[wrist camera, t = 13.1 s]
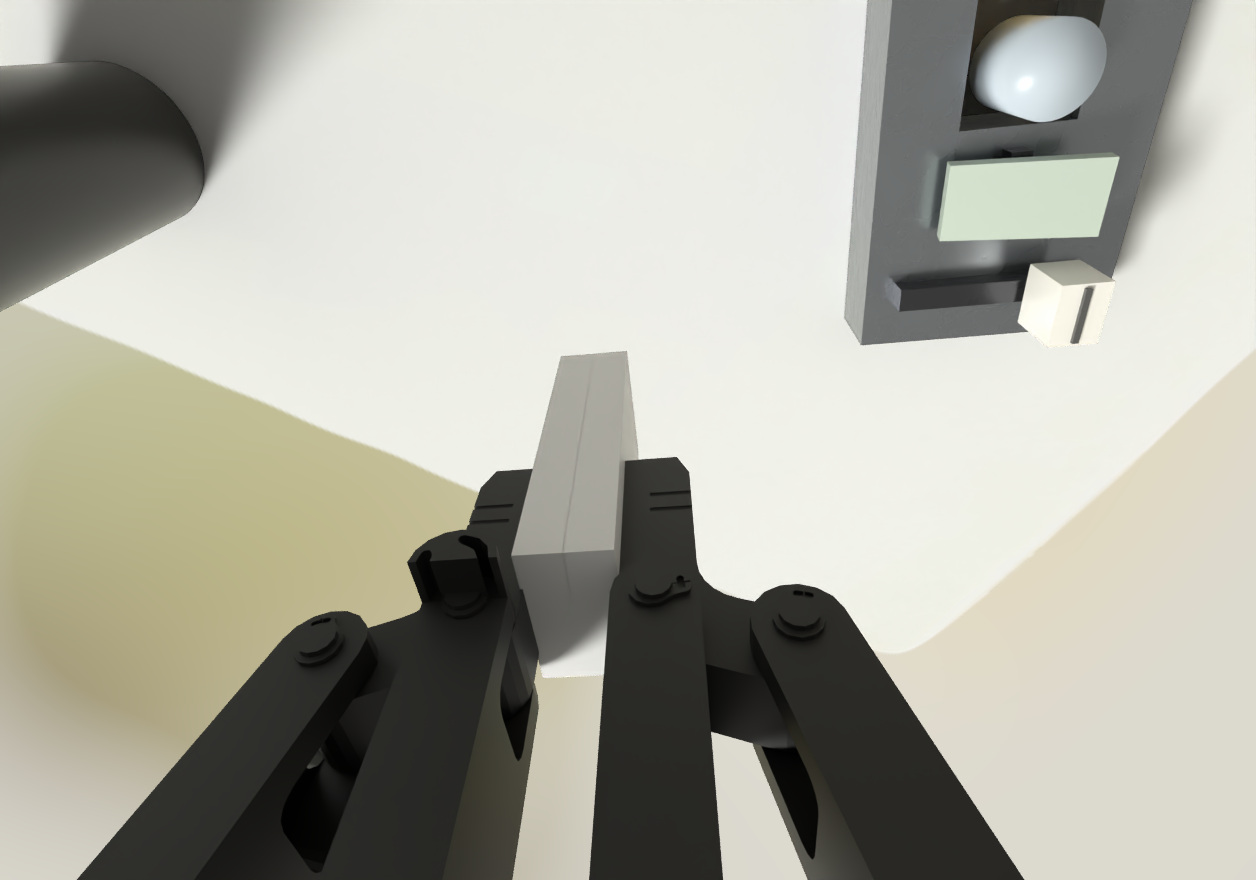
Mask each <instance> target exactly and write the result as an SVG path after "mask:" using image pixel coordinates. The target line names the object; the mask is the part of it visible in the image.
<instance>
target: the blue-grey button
mask: <svg viewBox="0 0 1256 880" xmlns="http://www.w3.org/2000/svg"><path fill="white" fill-rule="evenodd" d="M1106 57H1107V49H1106V42H1105V39H1104V36H1103V34H1102V32H1101V30H1100V29H1099V28H1098V27H1097V26H1096V25H1095V24H1094V23H1093V22H1091V21H1089V20H1087V19H1085V18H1081V17H1074V16H1044V15H1019V16H1015V17H1012V18H1009V19H1007V20H1004V21H1003V22H1001V23H999V24H998V25H996V26H995V27H994V28H993V29H991V30H990V31H989V32H988V33H987V34H986V36H985V37H984V38H983V39H982V41H981V42H980V43H979V45H978V47H977V49H976V50H975V53H974V55H973V57H972V60H971V64H970V70H969V82H970V87H971V90H972V92H973V94H974V96H975V97H976V99H977V100H978V101H979V102H980V103H981V104H983V105H984V106H986V107H988V108H991V109H995V110H998V111H1001V112H1004V113H1008V114H1011V115H1014V116H1017V117H1020V118H1024V119H1027V120H1030V121H1034V122H1048V121H1053V120H1056V119H1059V118H1062V117H1064V116H1066V115H1068V114H1069V113H1071V112H1073V111H1074V110H1075V109H1077V108H1078V107H1079V106H1080V105H1082V104H1083V103H1084V102H1085V101H1086V100H1087V99H1088V97H1089V96H1090V95H1091V94H1092V92H1093V91H1094V89H1095V88H1096V86H1097V85H1098V83H1099V81H1100V79H1101V76H1102V74H1103V71H1104V68H1105V64H1106Z"/></svg>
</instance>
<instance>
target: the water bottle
mask: <svg viewBox="0 0 1256 880" xmlns="http://www.w3.org/2000/svg"><path fill="white" fill-rule="evenodd" d="M203 182H204V164H203V158H202V153H201V150H200V147H199V144H198V141H197V139H196V136H195V134H194V132H193V130H192V128H191V126H190V125H189V123H188V121H187V120H186V118H185V117H184V115H183V114H182V112H181V111H180V110H179V109H178V107H177V106H176V105H175V104H174V103H173V102H172V100H171V99H170V98H169V97H168V96H167V95H166V94H165V93H164V92H162V91H161V90H160V89H159V88H158V87H157V86H155V85H154V84H153V83H151V82H150V81H149V80H147V79H146V78H144V77H142V76H141V75H139V74H137V73H135V72H133V71H131V70H129V69H127V68H124V67H122V66H119V65H116V64H112V63H107V62H100V61H85V62H67V63H50V64H32V65H14V66H0V312H1V311H3V310H4V309H7V308H8V307H10V306H12V305H14V304H16V303H18V302H20V301H22V300H24V299H26V298H28V297H29V296H31V295H33V294H35V293H37V292H39V291H41V290H43V289H45V288H47V287H49V286H50V285H52V284H54V283H56V282H58V281H60V280H62V279H64V278H66V277H68V276H70V275H72V274H73V273H75V272H77V271H79V270H81V269H83V268H85V267H87V266H89V265H91V264H93V263H94V262H96V261H98V260H100V259H102V258H104V257H106V256H108V255H110V254H112V253H114V252H115V251H117V250H119V249H121V248H123V247H125V246H127V245H129V244H131V243H133V242H135V241H136V240H138V239H140V238H142V237H144V236H146V235H148V234H150V233H152V232H154V231H156V230H157V229H159V228H161V227H163V226H165V225H167V224H169V223H171V222H173V221H175V220H177V219H178V218H180V217H182V216H184V215H185V214H187V213H188V212H189V211H190V210H191V209H192V208H193V207H194V205H195V204H196V202H197V201H198V199H199V197H200V194H201V191H202V188H203Z"/></svg>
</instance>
